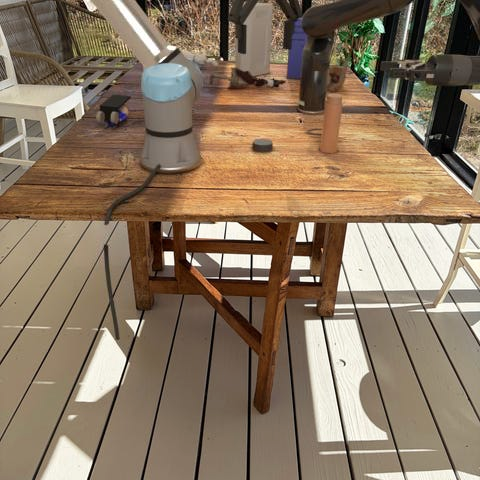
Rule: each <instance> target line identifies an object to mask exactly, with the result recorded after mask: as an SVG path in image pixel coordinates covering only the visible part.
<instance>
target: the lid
mask: <svg viewBox="0 0 480 480" xmlns="http://www.w3.org/2000/svg"><path fill="white" fill-rule="evenodd" d="M273 145H274V144H273V141H272V139H268V138H257V139H254V140H252V150H253V151H254V152H258V153H269V152H271V151H272V150H273V147H274V146H273Z"/></svg>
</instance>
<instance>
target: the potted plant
mask: <svg viewBox="0 0 480 480" xmlns="http://www.w3.org/2000/svg"><path fill="white" fill-rule="evenodd" d="M340 64H343V65H342V66H336V65H330V66H329V76H328V85H327V87H328V91H329V92H333V93H335V92H336V91H337V90H338V89H341V87H343V85H344V83H345V81H346V78H347V70H348V67H349V61H348V60H347V59H345V58H341V59H340Z"/></svg>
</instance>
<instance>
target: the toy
mask: <svg viewBox="0 0 480 480" xmlns="http://www.w3.org/2000/svg"><path fill="white" fill-rule="evenodd" d="M181 52H182V53H183V55H184V56H185V57H186V59H189V60H191V61H193V62H194V63H195V64H196V65H197V66H198V67H199V69H201V66H204V65H207V64H212V65H213V66H214V67H216V68H217V67H218V66H219V63H218V62H217V61H216V60H215V59H213V58H207V56H206V55H205V54H202V53H201V51H197V52H196V53H193V52H190V51H187V50H184V51H181Z"/></svg>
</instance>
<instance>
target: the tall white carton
mask: <svg viewBox="0 0 480 480" xmlns="http://www.w3.org/2000/svg"><path fill="white" fill-rule="evenodd" d="M245 3H246V1H245V2H244V4H245ZM244 4H243V6H244ZM273 8H274V4H273V3H269V2H267V3H266V2H265V3H264V2H257V4H256V5H255V7H254V8H253V10H252V11H251V13H250V14H249V16H248V17H247V19H246V20H245V22H244V23H243V24H245V25H247V35H246V54H241V53H238V39H236V38H235V59H234V60H235V62H234V63H235V65H234V66H235V67H234V68H237V69H240V70H242V71H244V72H245V71H249V72H250V73H251V75H252V76H256V77H257V76H259V75H260V76H261V75H266V74H270V73H271V56H272V55H271V54H272V33H273V32H272V31H273V10H274V9H273Z"/></svg>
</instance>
